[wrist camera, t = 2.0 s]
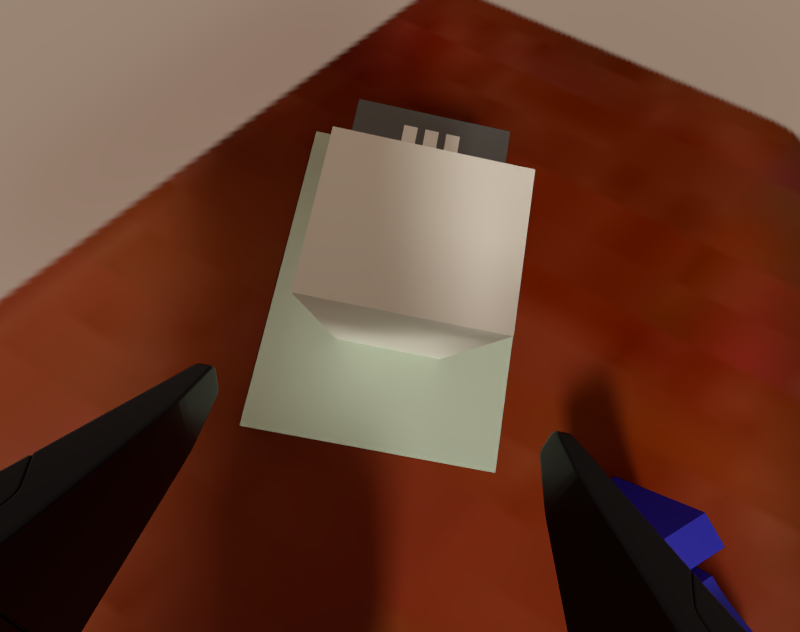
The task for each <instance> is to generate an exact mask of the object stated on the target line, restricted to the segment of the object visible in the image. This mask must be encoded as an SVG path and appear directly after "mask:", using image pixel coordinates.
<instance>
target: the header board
mask: <svg viewBox="0 0 800 632" xmlns="http://www.w3.org/2000/svg"><path fill="white" fill-rule="evenodd" d="M352 130H353V131H357V132H362V133H367V134H371V135H376V136H381V137H385V138H390V139H395V140H399V141H404V142H409V143H413V144H418V145H423V146H427V147H432V148H437V149H441V150H446V151H451V152H455V153H460V154H465V155H469V156H474V157H479V158H483V159H488V160H493V161H497V162H502V163H506V156H507V149H508V142H509V135H510V132H509V131H504V130H500V129H495V128H491V127H486V126H481V125H477V124H472V123H468V122H463V121H459V120H454V119H449V118H445V117H440V116H436V115H431V114H426V113H422V112H417V111H413V110H408V109H403V108H399V107H394V106H390V105H385V104H380V103H376V102H371V101H367V100H362V99H359V102H358V106H357V111H356V115H355V119H354V123H353V127H352ZM330 136H331V134H327V133H323V132H318V131H316V135H315V139H314V143H313V146H312V150H311V154H310V158H309V162H308V166H307V169H306V173H305V177H304V181H303V185H302V189H301V192H300V196H299V200H298V204H297V208H296V211H295V215H294V219H293V223H292V227H291V231H290V234H289V238H288V242H287V246H286V250H285V254H284V257H283V261H282V265H281V269H280V273H279V276H278V280H277V284H276V288H275V292H274V296H273V299H272V303H271V307H270V311H269V315H268V319H267V322H266V326H265V330H264V334H263V338H262V341H261V345H260V349H259V353H258V357H257V361H256V364H255V368H254V372H253V376H252V380H251V384H250V387H249V391H248V395H247V399H246V403H245V406H244V410H243V414H242V418H241V422H240V426H244V427H249V428H255V429H260V430H266V431H271V432H277V433H282V434H287V435H293V436H298V437H304V438H309V439H315V440H320V441H325V442H331V443H336V444H342V445H347V446H353V447H358V448H363V449H369V450H374V451H380V452H385V453H391V454H396V455H401V456H407V457H412V458H418V459H423V460H429V461H434V462H439V463H445V464H450V465H456V466H461V467H467V468H472V469H477V470H483V471H488V472H494V473H495V470H496V463H497V455H498V447H499V439H500V432H501V424H502V416H503V409H504V401H505V393H506V385H507V378H508V370H509V362H510V354H511V347H512V339H513V337H510V338H507V339H503V340H500V341H497V342H494V343H490V344H487V345H484V346H481V347H478V348H474V349H471V350H468V351H465V352H462V353H458V354H455V355H452V356H449V357H445V358H442V359H437V358H431V357H426V356H421V355H416V354H411V353H406V352H401V351H395V350H390V349H385V348H380V347H375V346H370V345H364V344H359V343H354V342H349V341H344V340H339V339H336V338H335V337H334V336H333V335H332V334H331V333H330V332H329V331H328V330H327V329H326V328H325V327H324V326H323V325H322V324H321V323H320V322H319V321H318V320H317V319H316V318H315V317H314V316H313V315H312V313H311V312H310V311H309V310H308V309H307V308H306V307H305V306H304V305H303V304H302V303H301V302H300V301H299V300H298V299H297V298H296V297H295V296H294V295H293V294H292V293H291V290H292V286H293V282H294V278H295V274H296V270H297V266H298V262H299V258H300V254H301V250H302V247H303V243H304V239H305V235H306V231H307V227H308V223H309V219H310V215H311V211H312V207H313V203H314V199H315V195H316V191H317V187H318V183H319V179H320V175H321V171H322V167H323V163H324V159H325V155H326V152H327V148H328V144H329V140H330Z"/></svg>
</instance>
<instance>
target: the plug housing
mask: <svg viewBox="0 0 800 632" xmlns="http://www.w3.org/2000/svg"><path fill="white" fill-rule="evenodd" d="M534 174H535V170H534V169H530V168H525V167H520V166H516V165H511V164H506V163H502V162H497V161H493V160H488V159H483V158H479V157H474V156H469V155H465V154H460V153H455V152H451V151H446V150H441V149H437V148H432V147H427V146H423V145H418V144H413V143H409V142H404V141H399V140H395V139H390V138H385V137H381V136H376V135H371V134H367V133H362V132H357V131H353V130H348V129H343V128H339V127H334V126H333V128H332V132H331V136H330V140H329V144H328V148H327V152H326V155H325V159H324V163H323V167H322V171H321V175H320V179H319V183H318V187H317V191H316V195H315V199H314V203H313V207H312V211H311V215H310V219H309V223H308V227H307V231H306V235H305V239H304V243H303V247H302V250H301V254H300V258H299V262H298V266H297V270H296V274H295V278H294V282H293V286H292V290H291V293H292V294H293V295H294V296H295V297H296V298H297V299H298V300H299V301H300V302H301V303H302V304H303V305H304V306H305V307H306V308H307V309H308V310H309V311H310V312H311V313H312V315H313V316H314V317H315V318H316V319H317V320H318V321H319V322H320V323H321V324H322V325H323V326H324V327H325V328H326V329H327V330H328V331H329V332H330V333H331V334H332V335H333V336H334V337H335V338H336V339H339V340H344V341H349V342H354V343H359V344H364V345H370V346H375V347H380V348H385V349H390V350H395V351H401V352H406V353H411V354H416V355H421V356H426V357H431V358H437V359H442V358H445V357H449V356H452V355H455V354H458V353H462V352H465V351H468V350H471V349H474V348H478V347H481V346H484V345H487V344H490V343H494V342H497V341H500V340H503V339H507V338H510V337H513V336H514V329H515V322H516V314H517V306H518V298H519V291H520V283H521V275H522V267H523V260H524V252H525V244H526V236H527V229H528V221H529V213H530V205H531V198H532V190H533V182H534Z"/></svg>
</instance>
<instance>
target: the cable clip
mask: <svg viewBox="0 0 800 632" xmlns="http://www.w3.org/2000/svg"><path fill="white" fill-rule="evenodd" d="M611 480H612V481H613V482H614V483H615V484H616V486H617V487H618V488H619V489H620V490H621V491H622V492H623V494H624V495H625V496H626V497H627V498H628V499H629V500H630V501H631V503H632V504H633V505H634V506H635V507H636V508H637V509H638V511H639V512H640V513H641V514H642V515H643V516H644V517H645V519H646V520H647V521H648V522H649V523H650V524H651V525H652V526H653V528H654V529H655V530H656V531H657V532H658V533H659V534H660V536H661V537H662V538H663V539H664V540H665V541H666V542H667V544H668V545H669V546H670V547H671V548H672V549H673V550H674V551H675V553H676V554H677V555H678V556H679V557H680V558H681V559H682V561H683V562H684V563H685V564H686V565H687V566H688V567H689V568H690V570H691V573H694V574H695V575H696V576H697V577H698V579H699V580H700V581H701V582H702V583H703V584H704V585H705V587H706V588H707V589H708V590H709V591H710V592H711V593H712V594H713V595H714V597H715V598H716V599H717V600H718V601H719V602H720V603H721V604H722V605H723V607H724V608H725V609H726V610H727V611H728V612H729V613H730V614H731V615H732V616H733V618H734V619H735V620H736V621H737V622H738V623H739V624H740V625H741V626H742V627H743V628H744V629H745V630H746V631H747V632H752V630H751V629H750V628H749V627H748V626H747V624H746V623H745V622H744V621H743V619H742V618H741V617H740V616H739V614H738V613H737V612H736V611H735V609H734V608H733V607H732V605H731V604H730V603H729V601H728V600H727V598H726V597H725V595H724V594H723V592H722V591H721V590H720V588H719V586H718V585H717V583H716V582H715V580H714V578H713V576H712V575H710V574H708V573H707V572H705V571H703V570H701V569H700V568H698V567H696V566H697V565H698V564H700V563H701V562H703V561H704V560H706V559H707V558H709V557H710V556H712V555H713V554H715V553H716V552H718V551H719V550H721V549H722V548H724V545H723V543H722V541H721V540H720V538H719V536H718V534H717V533H716V531H715V529H714V527H713V526H712V524H711V522H710V520H709V519H708V517H707V515H706V513H705V512H702V511H700V510H697V509H695V508H692V507H690V506H687V505H685V504H682V503H680V502H677V501H675V500H672V499H670V498H667V497H665V496H662V495H660V494H657V493H655V492H652V491H650V490H648V489H645V488H643V487H640V486H638V485H635V484H633V483H630V482H628V481H625V480H623V479H620V478H618V477H614V478H612V479H611Z"/></svg>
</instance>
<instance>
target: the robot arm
mask: <svg viewBox="0 0 800 632" xmlns="http://www.w3.org/2000/svg"><path fill="white" fill-rule="evenodd" d="M217 394H218V382H217V375H216V370H215V368H214V367H213V366H211V365H206V364H200V363H199V364H195V365H193V366H191V367H189V368H187V369H186V370H184V371H182V372H180V373H178V374H176V375H175V376H173V377H171V378H169V379H167V380H166V381H164V382H162V383H160V384H158V385H156V386H155V387H153V388H151V389H149V390H147V391H145V392H144V393H142V394H140V395H138V396H136V397H135V398H133V399H131V400H129V401H127V402H125V403H124V404H122V405H120V406H118V407H116V408H114V409H113V410H111V411H109V412H107V413H105V414H104V415H102V416H100V417H98V418H96V419H94V420H93V421H91V422H89V423H87V424H85V425H83V426H82V427H80V428H78V429H76V430H74V431H73V432H71V433H69V434H67V435H65V436H63V437H62V438H60V439H58V440H56V441H54V442H53V443H51V444H49V445H47V446H45V447H43V448H42V449H40V450H38V451H36V452H34V453H33V455H32V456H31V455H29V456H27V457H25V458H23V459H21V460H19V461H18V462H16V463H14V464H12V465H10V466H8V467H7V468H5V469H3V470H1V471H0V632H82V630H83V628H84V627H85V625H86V623H87V622H88V620H89V618H90V617H91V615H92V613H93V612H94V610H95V609H96V607H97V605H98V604H99V602H100V600H101V599H102V597H103V595H104V594H105V592H106V590H107V589H108V587H109V585H110V584H111V582H112V581H113V579H114V577H115V576H116V574H117V572H118V571H119V569H120V567H121V566H122V564H123V562H124V561H125V559H126V558H127V556H128V554H129V553H130V551H131V549H132V548H133V546H134V544H135V543H136V541H137V539H138V538H139V536H140V534H141V533H142V531H143V530H144V528H145V526H146V525H147V523H148V521H149V520H150V518H151V516H152V515H153V513H154V511H155V510H156V508H157V507H158V505H159V503H160V502H161V500H162V498H163V497H164V495H165V493H166V492H167V490H168V488H169V487H170V485H171V483H172V482H173V480H174V479H175V477H176V475H177V474H178V472H179V470H180V469H181V467H182V465H183V464H184V462H185V460H186V459H187V457H188V455H189V454H190V452H191V450H192V448H193V446H194V444H195V442H196V440H197V438H198V436H199V433H200V431H201V429H202V427H203V425H204V423H205V421H206V418H207V416H208V414H209V412H210V410H211V408H212V406H213V404H214V401H215V399H216V397H217ZM540 462H541V473H542V485H543V496H544V507H545V515H546V521H547V527H548V532H549V537H550V542H551V548H552V553H553V558H554V563H555V568H556V573H557V579H558V584H559V589H560V594H561V599H562V605H563V610H564V615H565V620H566V625H567V630H568V632H747V631H746V630H745V629H744V628H743V627H742V626H741V625H740V624H739V623H738V622H737V621H736V620H735V619H734V618H733V616H732V615H731V614H730V613H729V612H728V611H727V610H726V609H725V608H724V607H723V605H722V604H721V603H720V602H719V601H718V600H717V599H716V598H715V597H714V595H713V594H712V593H711V592H710V591H709V590H708V589H707V588H706V587H705V585H704V584H703V583H702V582H701V581H700V580H699V579H698V577H697V576H696V575H695V574H694V573H691V570H690V568H689V567H688V566H687V565H686V564H685V563H684V562H683V561H682V559H681V558H680V557H679V556H678V555H677V554H676V553H675V551H674V550H673V549H672V548H671V547H670V546H669V545H668V544H667V542H666V541H665V540H664V539H663V538H662V537H661V536H660V534H659V533H658V532H657V531H656V530H655V529H654V528H653V526H652V525H651V524H650V523H649V522H648V521H647V520H646V519H645V517H644V516H643V515H642V514H641V513H640V512H639V511H638V509H637V508H636V507H635V506H634V505H633V504H632V503H631V501H630V500H629V499H628V498H627V497H626V496H625V495H624V494H623V492H622V491H621V490H620V489H619V488H618V487H617V486H616V484H615V483H614V482H613V481H612V480H611V479H610V478H609V477H608V475H607V474H606V473H605V472H604V471H603V470H602V469H601V467H600V466H599V465H598V464H597V463H596V462H595V461H594V459H593V458H592V457H591V456H590V455H589V454H588V453H587V452H586V450H585V449H584V448H583V447H582V446H581V445H580V444H579V442H578V441H577V440H576V439H575V438H574V437H573V436H572V435H571V434H569V433H565V432H560V431H555V432H553V433H552V434H551V435H550V437H549V438H548V440H547V441H546V443H545V444H544V446H543V447H542V449H541V453H540Z"/></svg>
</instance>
